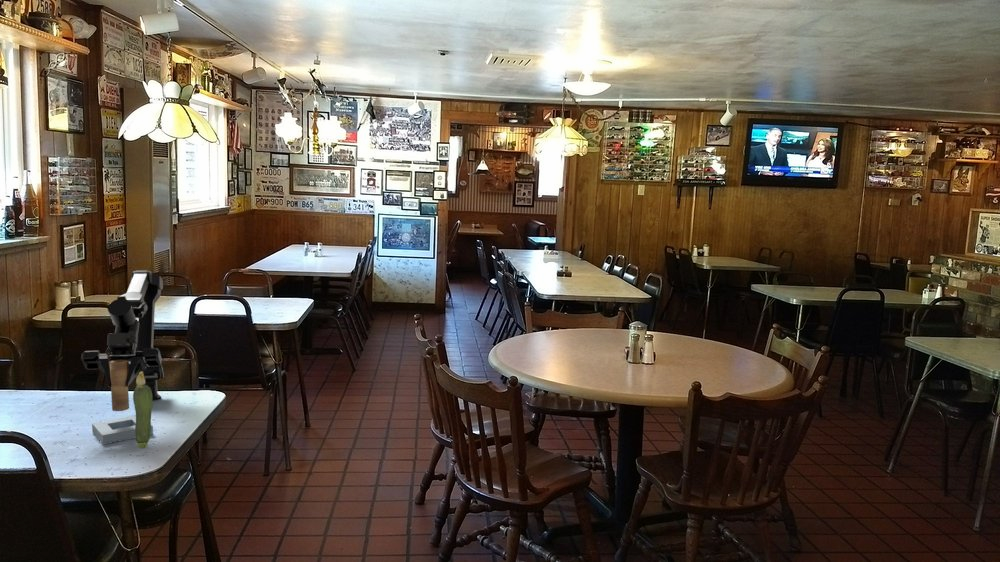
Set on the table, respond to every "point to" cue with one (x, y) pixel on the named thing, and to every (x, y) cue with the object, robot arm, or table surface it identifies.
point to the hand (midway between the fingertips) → (118, 386)
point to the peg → (119, 385)
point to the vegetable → (142, 411)
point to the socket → (116, 429)
